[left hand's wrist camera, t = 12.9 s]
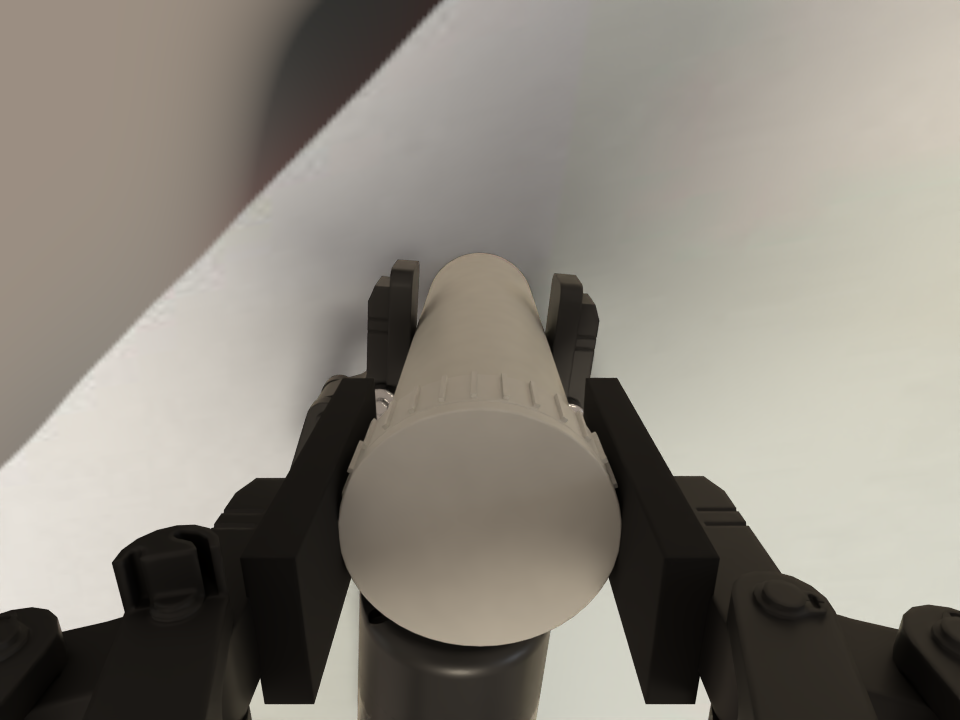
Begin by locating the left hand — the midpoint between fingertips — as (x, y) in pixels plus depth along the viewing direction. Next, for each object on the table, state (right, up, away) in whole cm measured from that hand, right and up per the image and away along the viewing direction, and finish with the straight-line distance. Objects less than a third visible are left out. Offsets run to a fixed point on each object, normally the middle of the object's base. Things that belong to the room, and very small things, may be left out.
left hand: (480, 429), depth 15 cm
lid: (0, -1, -4) cm, 4 cm away
